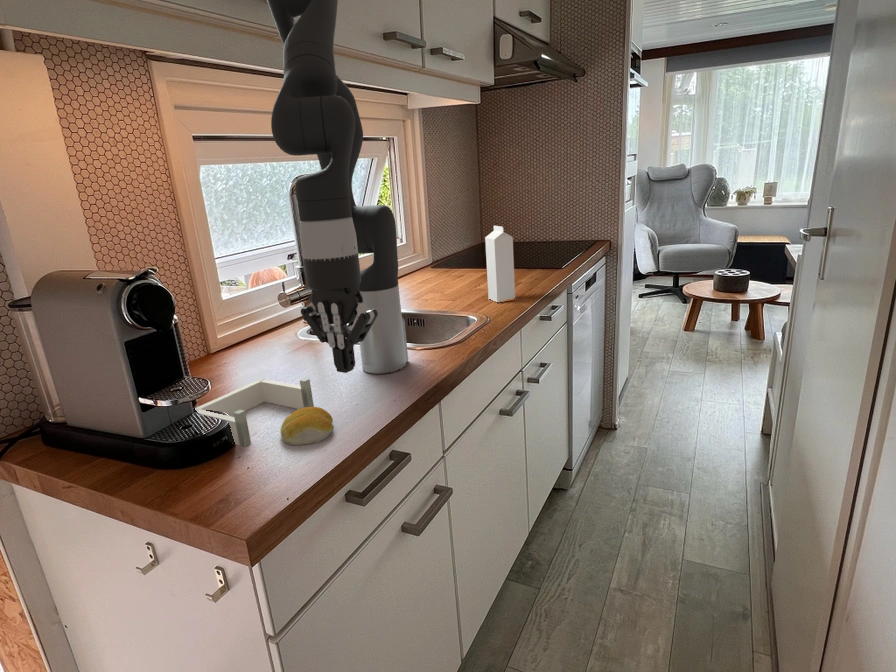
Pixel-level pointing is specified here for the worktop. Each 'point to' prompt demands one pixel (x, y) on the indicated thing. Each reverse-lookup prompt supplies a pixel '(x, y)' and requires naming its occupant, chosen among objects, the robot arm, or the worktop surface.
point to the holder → (256, 403)
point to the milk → (500, 265)
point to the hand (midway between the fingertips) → (345, 370)
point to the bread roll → (306, 426)
